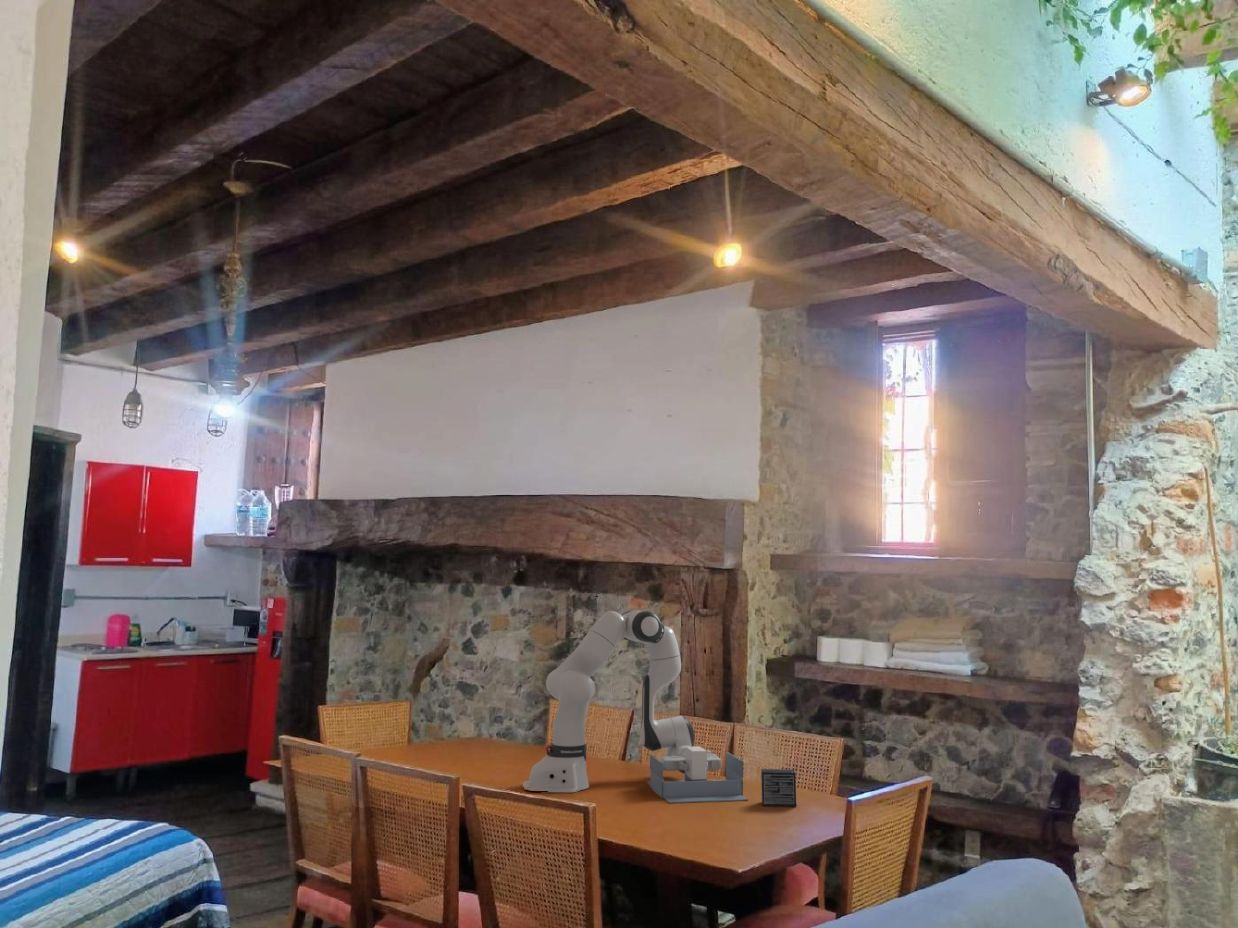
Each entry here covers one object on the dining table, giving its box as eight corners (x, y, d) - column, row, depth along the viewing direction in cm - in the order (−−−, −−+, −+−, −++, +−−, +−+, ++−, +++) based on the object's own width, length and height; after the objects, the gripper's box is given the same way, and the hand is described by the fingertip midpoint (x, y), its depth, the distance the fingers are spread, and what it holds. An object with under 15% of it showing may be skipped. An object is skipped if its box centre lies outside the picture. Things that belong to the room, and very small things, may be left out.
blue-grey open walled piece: (666, 803, 303) (666, 767, 304) (644, 782, 334) (644, 749, 335) (750, 800, 308) (750, 764, 309) (721, 779, 339) (721, 747, 340)
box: (691, 788, 315) (692, 751, 316) (684, 783, 324) (685, 746, 325) (706, 788, 316) (707, 750, 317) (699, 782, 325) (699, 746, 326)
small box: (795, 802, 306) (794, 768, 307) (796, 807, 299) (796, 772, 300) (761, 801, 307) (761, 767, 308) (762, 806, 300) (762, 771, 301)
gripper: (656, 750, 331) (666, 758, 318) (714, 750, 335) (725, 757, 322) (656, 769, 331) (666, 777, 317) (714, 768, 334) (725, 776, 321)
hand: (696, 767), depth 319 cm, fingers closed on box, 5 cm apart
